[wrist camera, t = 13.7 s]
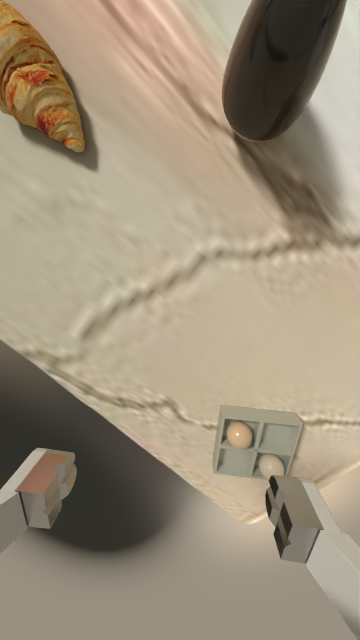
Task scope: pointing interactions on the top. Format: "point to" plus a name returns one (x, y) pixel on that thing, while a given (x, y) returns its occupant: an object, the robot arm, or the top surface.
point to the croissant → (35, 82)
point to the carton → (255, 440)
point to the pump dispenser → (277, 63)
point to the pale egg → (270, 466)
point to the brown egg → (239, 435)
